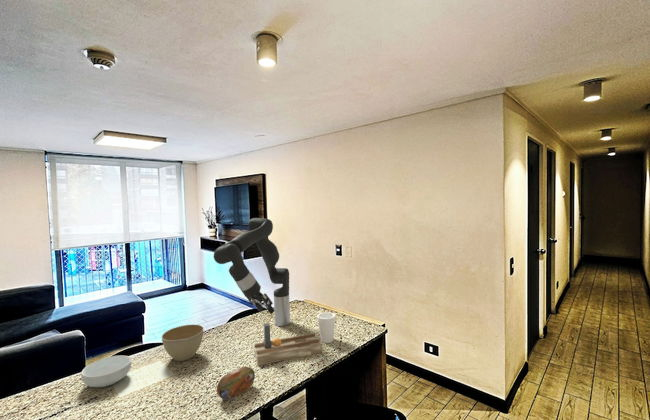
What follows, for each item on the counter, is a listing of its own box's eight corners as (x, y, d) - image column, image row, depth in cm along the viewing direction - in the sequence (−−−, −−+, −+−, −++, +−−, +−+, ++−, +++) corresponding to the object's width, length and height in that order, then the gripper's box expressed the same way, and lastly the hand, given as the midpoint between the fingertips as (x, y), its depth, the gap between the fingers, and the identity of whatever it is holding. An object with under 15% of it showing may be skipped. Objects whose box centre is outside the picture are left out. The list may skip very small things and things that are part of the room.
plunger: (263, 346, 144) (262, 323, 144) (270, 345, 145) (269, 322, 145) (265, 350, 140) (264, 326, 140) (271, 349, 141) (270, 325, 141)
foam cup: (336, 336, 162) (335, 312, 162) (335, 344, 153) (334, 318, 152) (319, 336, 163) (318, 312, 163) (316, 344, 154) (316, 318, 153)
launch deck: (254, 353, 146) (254, 342, 146) (313, 341, 156) (313, 331, 156) (257, 365, 135) (257, 353, 135) (321, 352, 145) (320, 341, 145)
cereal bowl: (92, 399, 115) (92, 381, 115) (74, 386, 124) (74, 369, 123) (139, 376, 129) (139, 360, 129) (120, 366, 138) (120, 351, 138)
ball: (272, 345, 145) (271, 337, 145) (280, 343, 147) (280, 335, 147) (273, 349, 141) (273, 340, 141) (282, 347, 143) (281, 339, 143)
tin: (220, 404, 109) (219, 381, 109) (216, 401, 111) (215, 378, 111) (255, 385, 120) (254, 364, 120) (251, 382, 122) (250, 361, 122)
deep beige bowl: (191, 344, 158) (190, 321, 158) (212, 353, 147) (211, 329, 147) (155, 360, 143) (154, 334, 143) (175, 371, 133) (174, 343, 132)
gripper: (263, 278, 128) (282, 306, 133) (245, 277, 137) (263, 303, 143) (250, 291, 123) (270, 320, 128) (233, 289, 133) (252, 315, 138)
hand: (267, 311), depth 135 cm, fingers open, 8 cm apart
